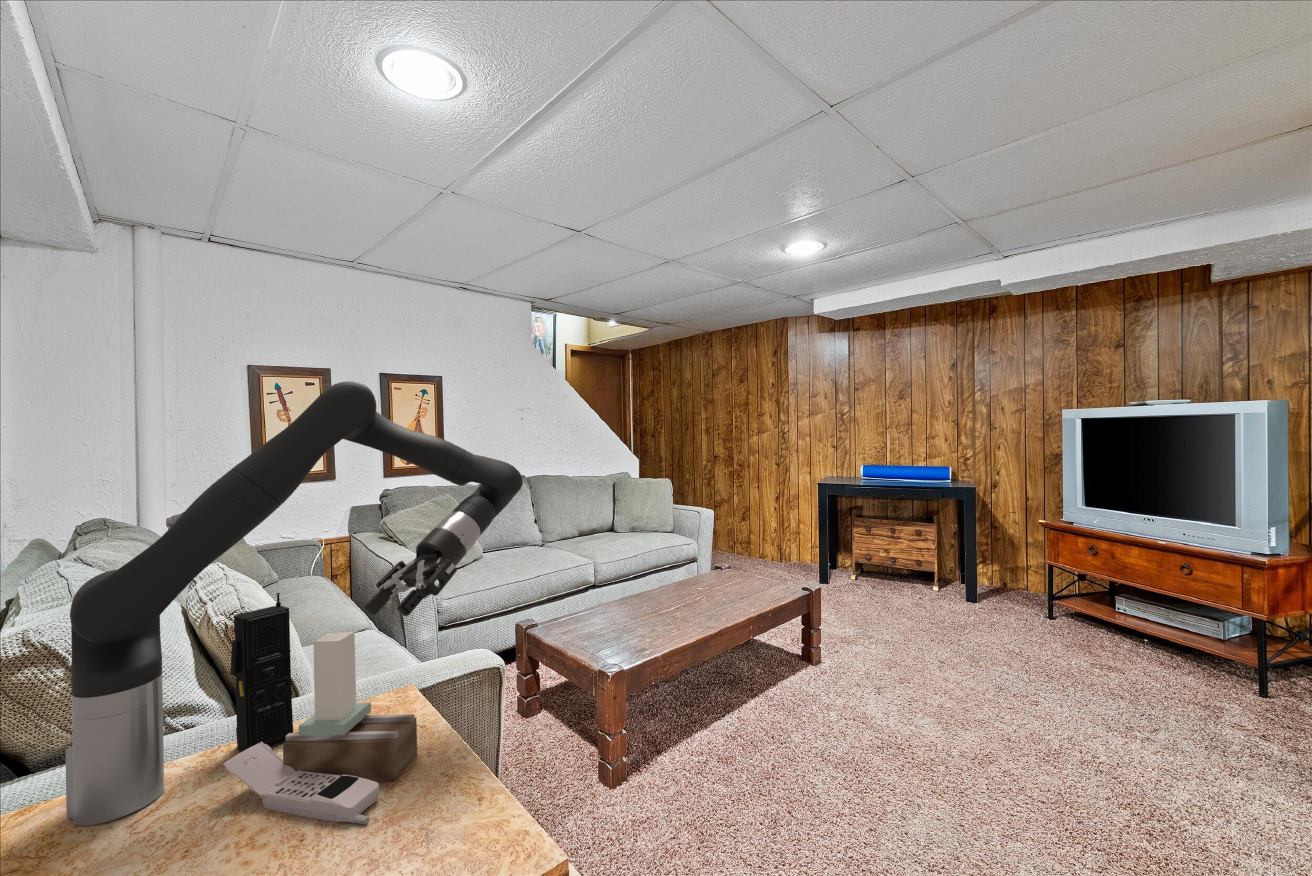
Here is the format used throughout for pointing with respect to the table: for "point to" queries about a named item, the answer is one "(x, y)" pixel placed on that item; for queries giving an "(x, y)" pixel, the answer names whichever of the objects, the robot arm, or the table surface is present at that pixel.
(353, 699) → the white pillar on base
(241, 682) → the portable radio
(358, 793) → the mobile phone
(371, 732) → the walnut track
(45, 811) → the table surface
